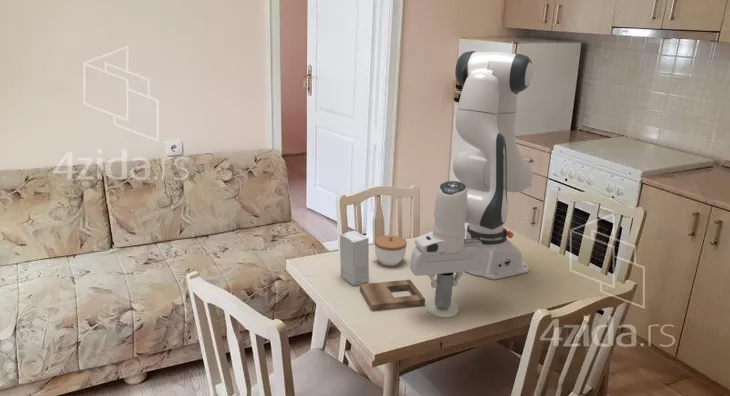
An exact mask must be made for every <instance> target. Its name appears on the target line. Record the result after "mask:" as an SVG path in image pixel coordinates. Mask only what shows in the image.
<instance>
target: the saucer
mask: <svg viewBox="0 0 730 396" xmlns="http://www.w3.org/2000/svg"><path fill="white" fill-rule="evenodd" d="M426 311H427V313H428V314H430V315H431V316H433V317H436V318H440V319H450V318H453V317H455V316H457V315H458V314H459V307H458V305H457V304H455V303H454V302H453V301H451V305H450V307H448V308H439V307H437V306H436V305H435V299H434V300H431V301H428V303H427V304H426Z"/></svg>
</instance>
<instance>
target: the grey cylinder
mask: <svg viewBox="0 0 730 396" xmlns="http://www.w3.org/2000/svg"><path fill="white" fill-rule="evenodd" d="M454 276H455V273H444V274H436V280H437V281H438V287H437V288H435V293H434V294H435V295H434V300H435V305H436V306H437V307H439V308H448V307H450V305H451V302H452V296H453V295H452V293H453V287H454V286H453V278H454Z"/></svg>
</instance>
